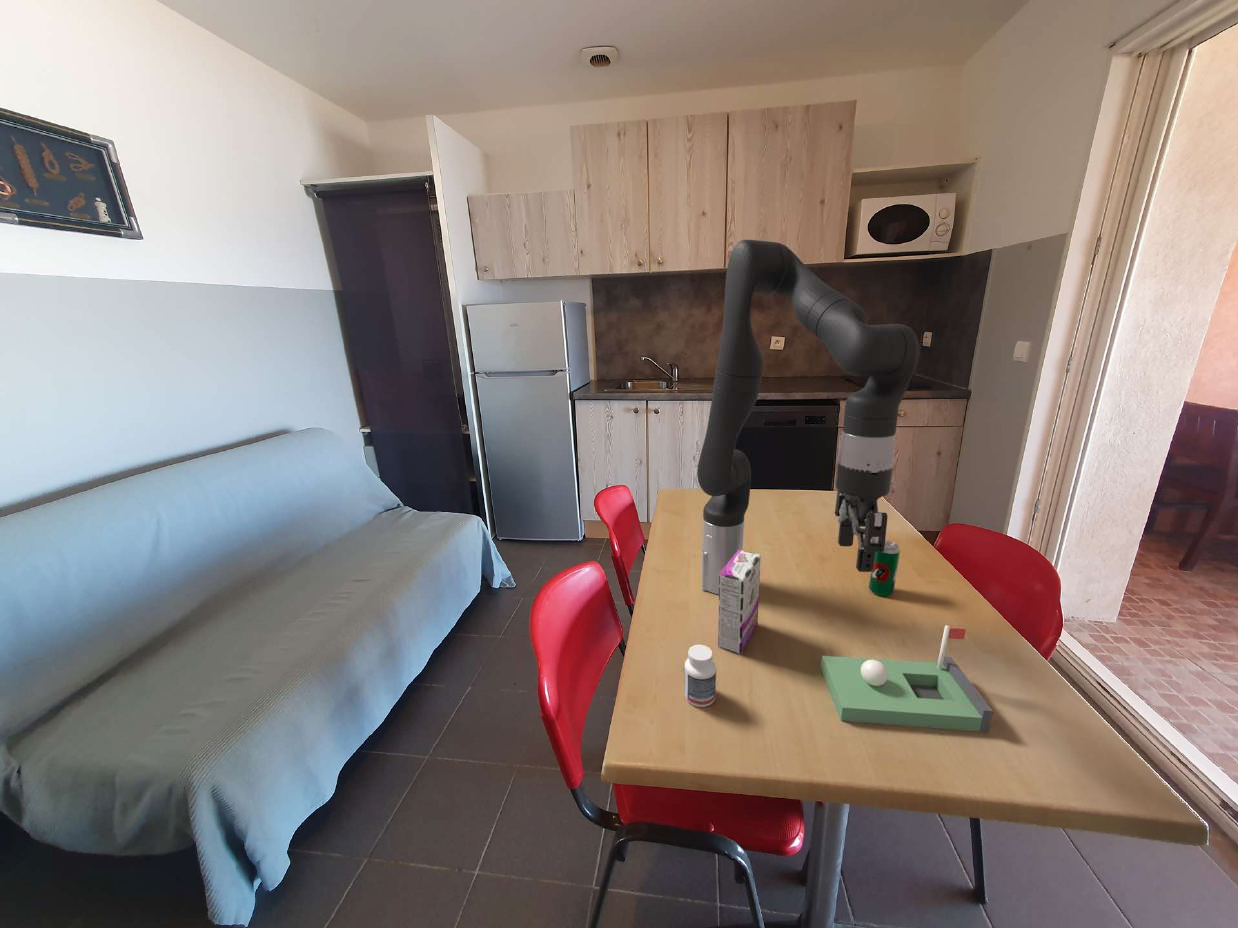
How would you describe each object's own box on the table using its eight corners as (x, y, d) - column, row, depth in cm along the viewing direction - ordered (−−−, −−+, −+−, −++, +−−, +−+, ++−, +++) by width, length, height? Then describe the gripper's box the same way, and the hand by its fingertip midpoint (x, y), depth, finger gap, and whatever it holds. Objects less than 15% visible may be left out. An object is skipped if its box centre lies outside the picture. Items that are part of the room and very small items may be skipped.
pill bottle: (721, 703, 80) (722, 659, 77) (692, 711, 78) (693, 666, 76) (706, 681, 85) (707, 639, 82) (679, 688, 83) (679, 645, 81)
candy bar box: (734, 617, 102) (737, 548, 97) (758, 624, 100) (762, 553, 95) (715, 647, 93) (718, 572, 88) (740, 655, 91) (744, 579, 86)
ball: (864, 690, 78) (867, 670, 77) (855, 673, 82) (858, 653, 81) (890, 692, 77) (893, 671, 76) (880, 674, 81) (883, 655, 80)
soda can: (896, 598, 107) (904, 550, 103) (872, 596, 108) (878, 548, 104) (889, 586, 111) (896, 540, 108) (865, 584, 112) (871, 538, 109)
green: (840, 720, 76) (848, 662, 72) (820, 667, 87) (826, 615, 84) (991, 732, 72) (1006, 672, 69) (950, 675, 84) (961, 622, 81)
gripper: (825, 449, 80) (817, 538, 84) (856, 476, 66) (844, 579, 71) (872, 449, 79) (861, 538, 83) (913, 475, 65) (898, 581, 70)
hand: (854, 557), depth 77 cm, fingers open, 8 cm apart
